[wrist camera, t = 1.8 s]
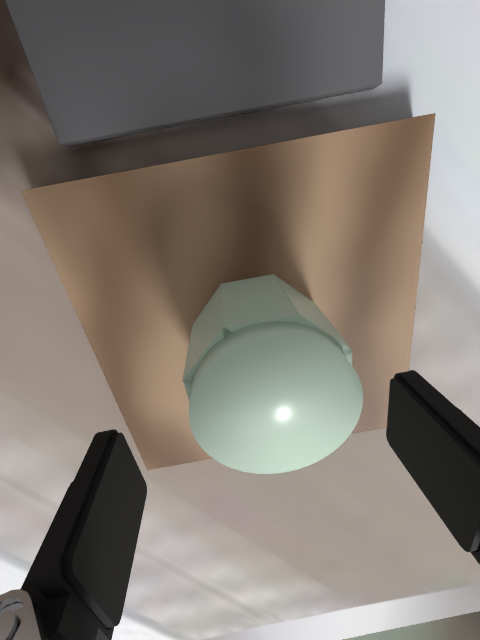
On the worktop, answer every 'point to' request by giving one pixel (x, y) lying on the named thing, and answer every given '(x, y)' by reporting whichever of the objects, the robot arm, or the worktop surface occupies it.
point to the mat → (191, 58)
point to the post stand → (242, 259)
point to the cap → (269, 379)
